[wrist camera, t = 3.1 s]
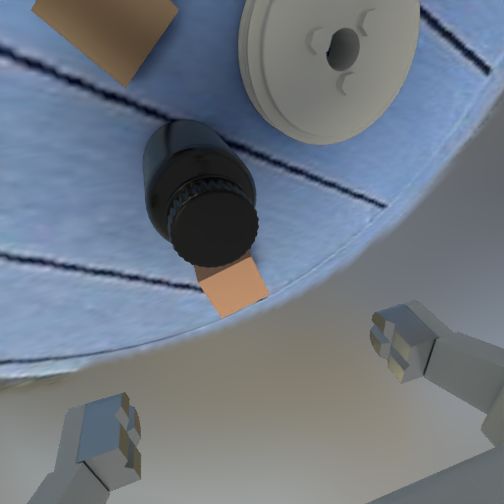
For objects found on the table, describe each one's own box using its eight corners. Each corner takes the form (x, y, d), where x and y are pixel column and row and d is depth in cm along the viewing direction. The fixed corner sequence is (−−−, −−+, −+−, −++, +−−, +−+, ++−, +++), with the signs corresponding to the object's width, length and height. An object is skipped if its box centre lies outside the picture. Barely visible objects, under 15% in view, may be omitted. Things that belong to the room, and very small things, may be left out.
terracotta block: (237, 228, 31) (251, 256, 27) (254, 264, 34) (269, 294, 30) (190, 251, 31) (198, 282, 27) (212, 285, 34) (221, 318, 30)
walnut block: (99, -61, 18) (87, -90, 14) (171, 15, 21) (179, 9, 17) (53, 16, 19) (30, 10, 15) (128, 79, 22) (125, 87, 18)
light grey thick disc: (305, 163, 30) (331, 182, 26) (198, 52, 23) (210, 54, 19) (413, 45, 27) (462, 46, 23) (328, -124, 20) (375, -166, 16)
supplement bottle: (197, 214, 29) (225, 301, 19) (126, 172, 25) (117, 253, 16) (244, 152, 27) (300, 213, 18) (174, 97, 24) (197, 136, 14)
